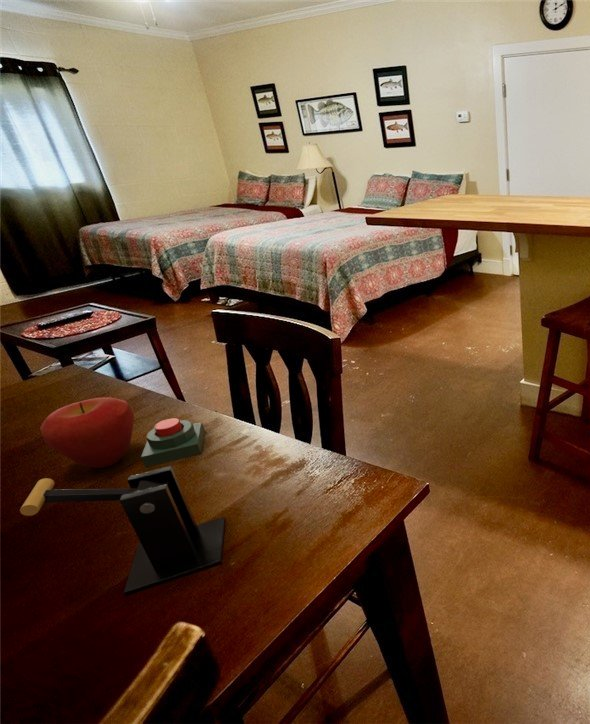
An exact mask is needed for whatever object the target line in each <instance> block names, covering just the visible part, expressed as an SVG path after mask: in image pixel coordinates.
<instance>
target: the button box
mask: <svg viewBox="0 0 590 724" xmlns="http://www.w3.org/2000/svg"><path fill="white" fill-rule="evenodd" d="M179 420H180V423H181V425H182V430H181V431H180V432H178V433H176V434H173V435H170V436H166V437H159V436H158V435H157V433H156V430H155V428H154V427H153V429H151V430H150V431H149V432H147V434H146V437H145V439H146V442H145V444H144V448H143V450H142V453H141V456H140V459H141V461H142V463H143V465H144V467H145V468H148V467H149V468H150V467H152V466H156V465H160V464H165V463H169V462H173V461H177V460H181V459H185V458H189V457H193V456H197V455H202V452H203V447H204V442H205V441H204V440H205V435H206V429H205V427H204V424H203V422H195V423H193V422H191V421H190V420H187V419H182V420H181V419H179Z"/></svg>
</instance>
